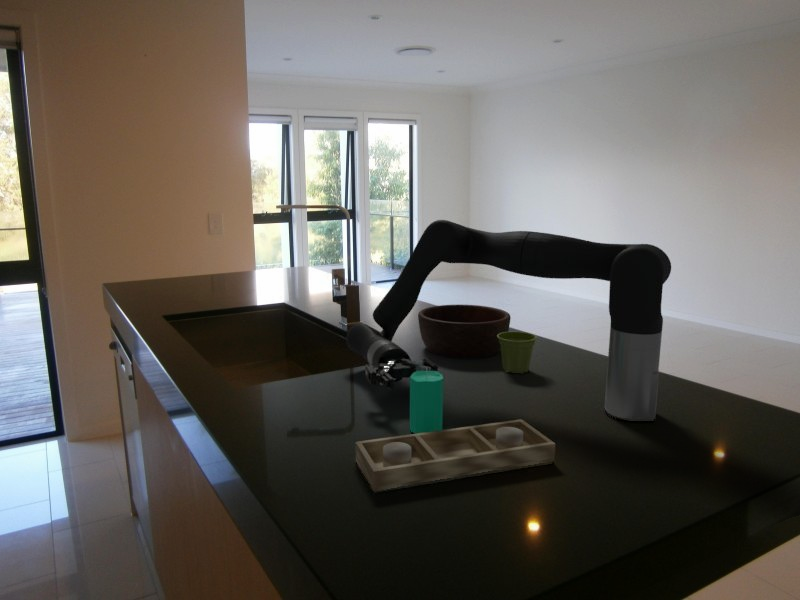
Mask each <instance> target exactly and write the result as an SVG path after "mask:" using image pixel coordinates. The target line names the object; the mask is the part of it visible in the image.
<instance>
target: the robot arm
mask: <svg viewBox="0 0 800 600" xmlns="http://www.w3.org/2000/svg"><path fill="white" fill-rule="evenodd" d="M417 241H418V242H417V244H416V246H415V247H414V249H413V251H412V253H411V255H410V256H409V258H408V260H407V262H406V264H405V266H404V267H403V269H402V270H401V273H400V274H399V275H398V278H397V279H396V280H395V282H394V283H393V285H392V286H391V288H390V289H389V290H388V291H387V293H386V294H385V295H384V297H382V299H381V301H380V302H379V303H378V304H377V306H376V307H375V308H374V309H373V312H372V318H373V320H374V322H375V323H376V324H377V325H378V327H380V328H381V331H379V330H377V329H375V328H374V327H372V326H370V325H368V324H365V323H363V322H359V323H356V324H353V325H352V326H351V327H350V328H349V330H348V331H347V334H346V344H347V347H348V348H349V350H351V351H352V352H354V353H355V354H357V355H358V356H360V357H362V358H363V359H364V360H365V361H366V362H367V363H368V364H365V366H364V367H365V374H364V375H365V378H366V379H367V382H368V383H369V384H370V385H371V386H376V385H377V384H378V383H379V384H380V386H383V387H384V388H386V389H388V390H389V391H392V390H394V388H395V387H394V386H395V385H394V383H397V382H400V381H402V380H404V379H405V380H407V379H409V380H410V377H411V375H412V374H413V373H414V372H418V371H426V368H427V371H437V372H439V365H437V364H436V363H435V362H433V361H431V359H430V360H429V358H424V359H422V362H419V361H415V360H414V361H413V360H412V359H411V357H410V355H409V354H408V353H407V351H406V350H404V349H403V348H401V346H399V345H398V344H396V343H395V342H394V341H393V339H394V336H395V334H396V333H397V330H398V329H399V326H400V325H401V324H402V323H403V322H404V320H405V319H406V318H407V317H408V315H409V314H410V313H411V311H412V310H413V309H414V306H415V305H416V304H417V301H418V299H419V295H420V293H421V289H422V287H423V285H424V283H425V282H426V280H427V278H428V277H429V275H430V274H431V272H433V271H434V269H436V267H438V266H439V265H440V264H441V263H446V264H471V265H473V264H474V265H475V264H476V265H487V266H492V267H494V268H498V269H500V270H504V271H507V272H510V273H514V274H519V275H522V276H523V275H524V276H528V277H529V276H530V277H534V278H540V279H542V278H544V279H562V280H565V279H566V280H567V279H569V280H572V279H593V280H594V279H595V280H600V281H607V282H609V295H608V312H609V316H610V329H609V340H608V342H609V343H608V352H607V353H608V354H607V367H606V368H607V370H606V384H605V397H604V408H605V410H606V411H607V412H608V413H610V414H612V415H614V416H617V417H621V418H628V419H647V418H649V419H655V420H656V413H657V405H658V404H657V403H658V393H659V381H660V380H659V379H660V373H659V370H660V369H659V368H660V359H661V358H660V357H661V347H662V335H663V326H664V318H663V314H662V302H663V301H662V300H663V288H664V287H663V286H664V284H665V283H666V282H667V281H668V278H669V277H670V274H671V271H672V263H671V260H670V258H669V256H668V254H667V253H666V252H665V251H664V250H663V249H662V248H660V247H658V246H656V245H654V244H648V243H640V244H639V243H637V244H636V243H629V244H628V243H603V242H595V241H590V240H587V239H581V238H577V237H571V236H566V235H559V234H554V233H548V232H538V231H529V230H513V231H503V232H491V231H485V230H480V229H476V228H471V227H469V226H466V225H462V224H459V223H456V222H453V221H449V220H446V219H437V220H434V221H432V222H431V223H430V224H429V225H427V227H426V228H425V229H424V231H423V232H422V234H421V236H420V238H419V240H417Z"/></svg>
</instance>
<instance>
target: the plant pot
mask: <svg viewBox="0 0 800 600" xmlns="http://www.w3.org/2000/svg"><path fill="white" fill-rule="evenodd" d="M497 338H498V339H499V343H500V345H501V350H500V352H501V361H502V369H504V370H505V371H508V372H509V373H513V374H514V373H521V374H524V373H523V372H526V373H527V372H529V371H528V370H530V365H531V359H532V354H533V349H534V345H535V341H536V340H537V339H538V336H537V335H536V334H533V333H529V332H526V331H525V332H524V331H508V332H503V333H499V334H498V335H497ZM504 370H503V371H504ZM505 371H504V372H505ZM508 372H507V373H508Z"/></svg>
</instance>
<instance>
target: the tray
mask: <svg viewBox="0 0 800 600" xmlns="http://www.w3.org/2000/svg"><path fill="white" fill-rule="evenodd" d="M354 447H355V463H356V462H357V464H358V465H357V464H356V465H357V467H358V466H359V467H358V469H359V468H360V469H361V471H362V472H361V471H360V472H361V474H362V473H363V474H364V476H365V478H366V479H367V481H368V483H369V484H370V486H371V488H372V490H373V491H374V492H375V491H381V490H386V489H391V488H397V487H401V486H408V485H413V484H417V483H423V482H429V481H435V480H440V479H447V478H454V477H460V476H465V475H471V474H476V473H482V472H488V471H493V470H502V469H508V468H515V467H522V466H528V465H534V464H539V463H547V462H551V461H554V462H555V460H556V459H555V457H556V443H555V442H554V441H552V440H551V439H549V438H548V437H547V436H546V435H545V434H543V433H541V432H540V431H538V430H537V429H536V428H534V427H533V426H531V425H530V424H529V423H527V422H526V421H524V420H523V419H521V418H519V419H515V420H506V421H500V422H491V423H484V424H478V425H477V424H476V425H469V426H461V427H456V428H447V429H442V430H439V431H432V432H424V433H417V434H411V433H410V434H404V435H397V436H389V437H382V438H381V437H380V438H374V439H368V440H367V439H366V440H365V439H364V440H360V441H355V446H354ZM360 469H359V470H360ZM363 474H362V475H363ZM364 476H363V477H364ZM365 478H364V479H365ZM366 479H365V480H366ZM367 481H366V482H367ZM368 483H367V484H368ZM370 486H369V487H370ZM371 488H370V489H371ZM372 490H371V491H372ZM373 491H372V492H373Z"/></svg>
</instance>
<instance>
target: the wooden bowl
mask: <svg viewBox="0 0 800 600" xmlns="http://www.w3.org/2000/svg"><path fill="white" fill-rule="evenodd" d="M510 314H511V313H509V312H508V311H506V310H503V309H500V308H497V307H491V306H487V305H476V304H442V305H435V306H434V305H433V306H429V307H426V308H422V309H421V310H420V311H418V315H417V316H418V317H417V318H418V319H417V320H418V327H419V332H420V336H421V337H420V338H421V340H422V342H423V343H424V346H425V348H426V349H427V350H428V351H429V352H431V353H432V354H434V355H437V356H440V357H445V358H452V359H453V358H454V359H463V358H472V359H483V358H488V357H487V356H489V357H491V355H492V356H495V355H496V354H498V353H499V352H501V345H500V343H499V339H498V338H497V335H498V334H499V333H503V332H510V331H509V330H510V324H511V315H510ZM494 354H495V355H494ZM482 357H483V358H482Z"/></svg>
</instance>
